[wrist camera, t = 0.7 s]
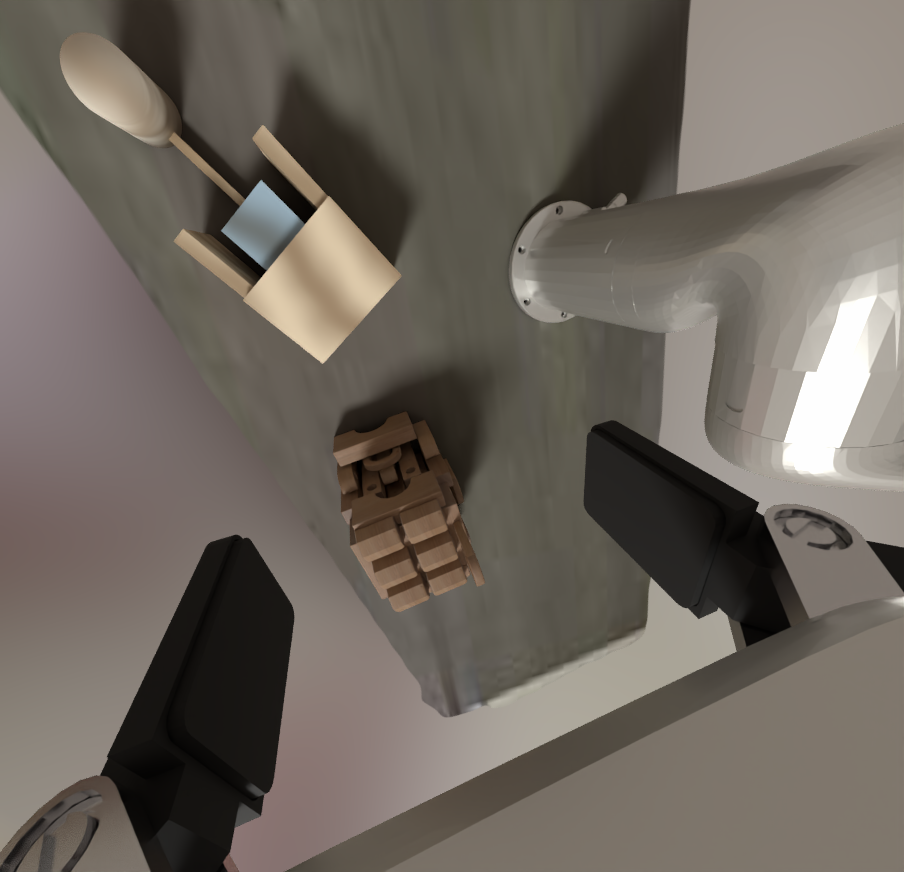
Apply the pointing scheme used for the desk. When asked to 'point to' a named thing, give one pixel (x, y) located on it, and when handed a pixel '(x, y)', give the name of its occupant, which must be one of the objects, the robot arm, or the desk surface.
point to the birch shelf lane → (305, 267)
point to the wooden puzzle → (404, 512)
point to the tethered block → (169, 137)
